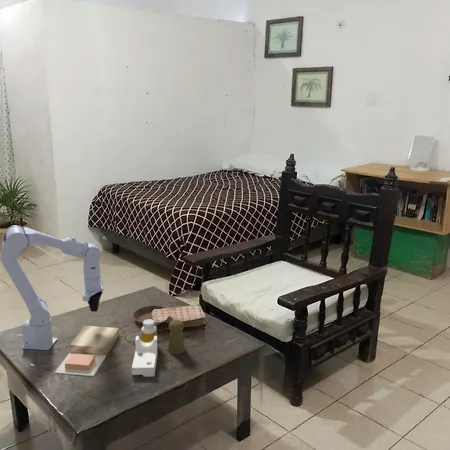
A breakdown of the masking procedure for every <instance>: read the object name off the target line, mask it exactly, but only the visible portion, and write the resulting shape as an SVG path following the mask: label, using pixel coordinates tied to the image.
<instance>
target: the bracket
mask: <svg viewBox="0 0 450 450" xmlns="http://www.w3.org/2000/svg"><path fill="white" fill-rule="evenodd" d="M158 354H159V353H158V335H157V336H154V339H153V341H151V342H149V343H145V342H142V339H141V338H140V336H139V335H136V336H135V352H134V356H133V360H132V365H131V375H132V376H139V375H140V376H141V375H142V377H144V378H145V377H155V375H156V374H155V373H156V367H157V363H158V362H157V360H158Z"/></svg>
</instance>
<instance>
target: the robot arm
mask: <svg viewBox="0 0 450 450" xmlns="http://www.w3.org/2000/svg"><path fill="white" fill-rule="evenodd" d="M35 245H42V246H47V247H50V248H55V249H59V250H60V251H61V253H62V254H64V255H67V256H70V257H71V256H72V257H75V258H79V259H83V266H82V267H83V282H84V284H83V285H84V287H83V295H82V301H83V302H87V304H88V306H89V309H90V312H94V313H95V312H98V311H99V310H98V309H99V306H100V300H101V296H102V295H103V291H104V290H105V287H103V280H102V279H101V263H100V260H101V257H102V253H101V251H100V249H99V247H98V246H97V245H96V244H95V243H93V242H92V241H82V240H78V239H76V237H75V236H72V237H66V238H59V237H55V236H53V235H49V234H48V233H44V232H41V231H39V230H36V229H33V228H30V227H27V226H24V227H22V226H21V225H17V224H16V225H11V226H9V227H7V229H6V230H5V232H4V233H3V235H2V242H1V248H0V262H1V264H2V266H3V267H4V269H5V271H6V272H7V274H8V276H9V278H10V279H11V280H12V283H13V284H14V286H15V288H16V290H17V291H18V293H19V294H20V296H21V298H22V300H23V302H24V303H25V305H26V308H27V311H28V312H29V315H30V319H28V320H25V321H24V323H23V324H22V328H21V334H22V343H23V346H22V349H25V350H37V351H49V350H50V349H51V348H52V347H53V345H55V343H56V342H57V341H58V337H53V327H52V318H51V313H50V311H49V308H48V304H47V302H46V301H45V300H44V299H41V297H40V295H39V294H38V293H37V291H36V290H35V288H34V286H33V284H32V282H31V281H30V279H29V277H28V276H27V274H26V271H25V270H24V268H23V267H22V265H21V263H20V262H19V260H18V257H19V256H20V253H22V252H23V251H24V250H25V249H26V248H27V246H28V248H31V247H33V246H35Z"/></svg>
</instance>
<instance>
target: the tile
mask: <svg viewBox="0 0 450 450" xmlns="http://www.w3.org/2000/svg"><path fill="white" fill-rule="evenodd" d="M94 362H95V355H94V354H93V355H83V354H81V353H80V354H71V356H70V357H69V358H68V360H67V361H66V362H65V369H73V370H86V371H89V370H90V368H91V367H92V365H93V364H94Z"/></svg>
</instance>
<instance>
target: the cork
mask: <svg viewBox="0 0 450 450" xmlns="http://www.w3.org/2000/svg"><path fill="white" fill-rule="evenodd" d="M184 325H185V324H184V323H183V321H182V320H180V319H173V320H171V321H170V322H169V324H168V329H169V331H170V332H169V339H168V347H167V352H168V353H170V354H171V355H180V354H183V353H184V352H185V350H186V347H185V340H184V332H183V330H184V327H185V326H184Z"/></svg>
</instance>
